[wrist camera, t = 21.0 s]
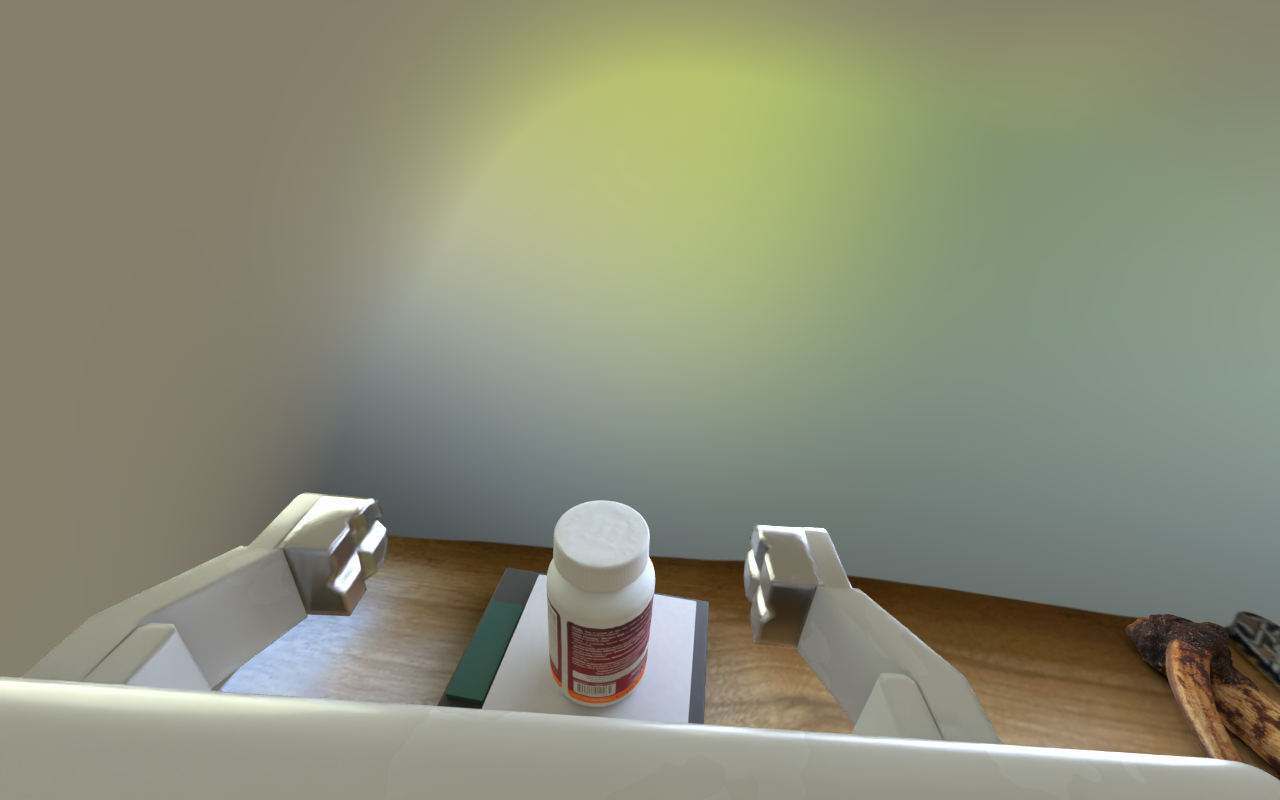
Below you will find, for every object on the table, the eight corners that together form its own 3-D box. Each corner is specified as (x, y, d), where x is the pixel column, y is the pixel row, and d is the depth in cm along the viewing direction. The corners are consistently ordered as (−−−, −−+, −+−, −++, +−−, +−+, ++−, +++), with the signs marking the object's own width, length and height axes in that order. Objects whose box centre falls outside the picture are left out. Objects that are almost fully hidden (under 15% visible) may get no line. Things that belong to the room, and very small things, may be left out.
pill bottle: (665, 660, 33) (683, 530, 27) (598, 734, 29) (604, 598, 23) (597, 605, 36) (602, 479, 31) (528, 665, 32) (520, 530, 27)
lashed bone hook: (1061, 649, 40) (1408, 976, 25) (1087, 608, 38) (1486, 939, 22) (1151, 628, 42) (1526, 919, 26) (1181, 588, 40) (1609, 880, 24)
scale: (416, 781, 29) (407, 748, 27) (508, 588, 41) (506, 557, 40) (694, 842, 27) (701, 812, 26) (704, 622, 40) (710, 592, 38)
